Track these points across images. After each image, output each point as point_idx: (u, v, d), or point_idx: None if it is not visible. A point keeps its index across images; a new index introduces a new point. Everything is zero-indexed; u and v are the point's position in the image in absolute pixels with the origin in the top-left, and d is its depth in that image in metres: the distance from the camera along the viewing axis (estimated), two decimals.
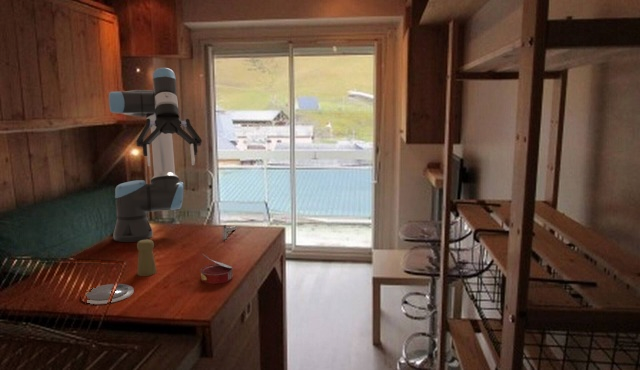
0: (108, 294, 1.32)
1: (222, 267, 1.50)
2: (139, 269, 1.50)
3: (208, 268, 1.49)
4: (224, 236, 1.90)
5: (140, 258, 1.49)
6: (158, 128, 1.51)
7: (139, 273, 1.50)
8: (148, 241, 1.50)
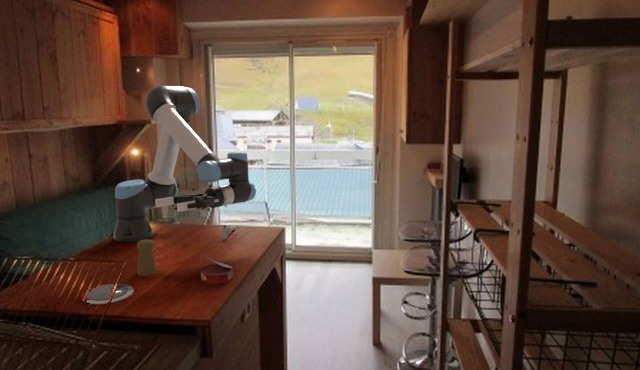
0: (108, 294, 1.32)
1: (222, 267, 1.50)
2: (139, 269, 1.50)
3: (208, 268, 1.49)
4: (224, 236, 1.90)
5: (140, 258, 1.49)
6: None
7: (139, 273, 1.50)
8: (148, 241, 1.50)
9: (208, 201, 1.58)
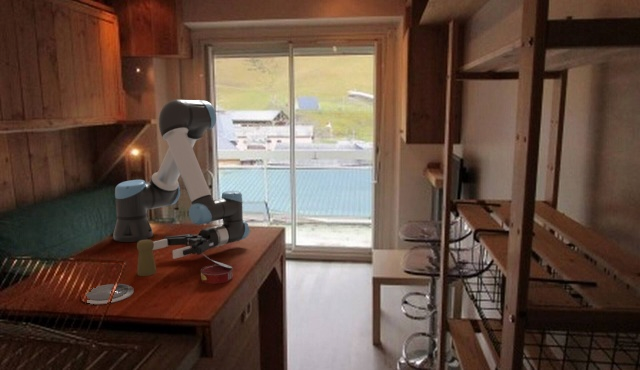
0: (108, 294, 1.32)
1: (222, 267, 1.50)
2: (139, 269, 1.50)
3: (208, 268, 1.49)
4: None
5: (140, 258, 1.49)
6: None
7: (139, 273, 1.50)
8: (148, 241, 1.50)
9: (203, 246, 1.57)
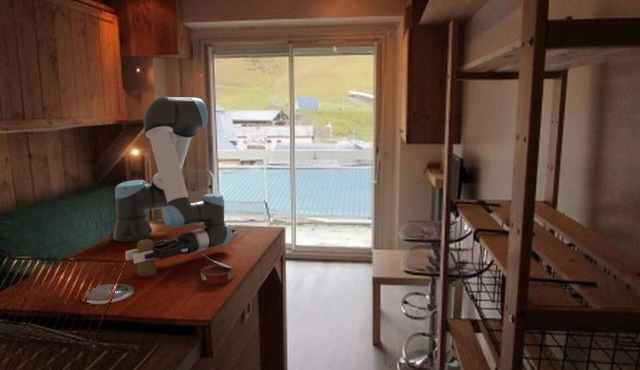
0: (108, 294, 1.32)
1: (222, 267, 1.50)
2: (139, 269, 1.50)
3: (208, 268, 1.49)
4: None
5: None
6: None
7: (139, 273, 1.50)
8: (148, 241, 1.50)
9: (169, 251, 1.51)
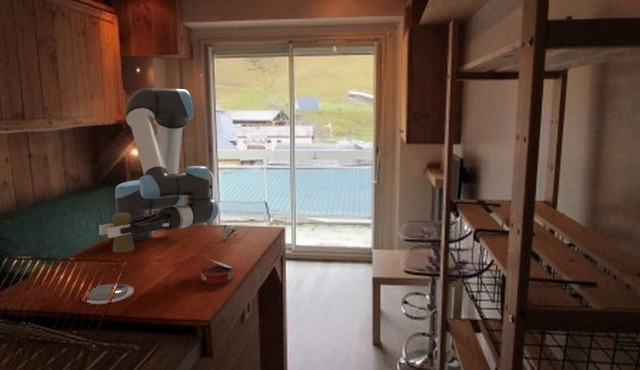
0: (108, 294, 1.32)
1: (222, 267, 1.50)
2: (115, 245, 1.35)
3: (208, 268, 1.49)
4: (224, 236, 1.90)
5: None
6: None
7: (115, 249, 1.35)
8: (125, 214, 1.35)
9: (148, 225, 1.37)
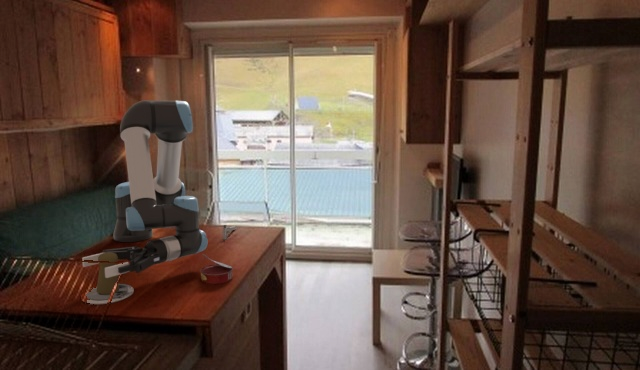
0: (108, 294, 1.32)
1: (222, 267, 1.50)
2: (99, 286, 1.32)
3: (208, 268, 1.49)
4: (224, 236, 1.90)
5: (101, 273, 1.32)
6: None
7: (98, 290, 1.32)
8: (111, 255, 1.32)
9: (145, 262, 1.33)
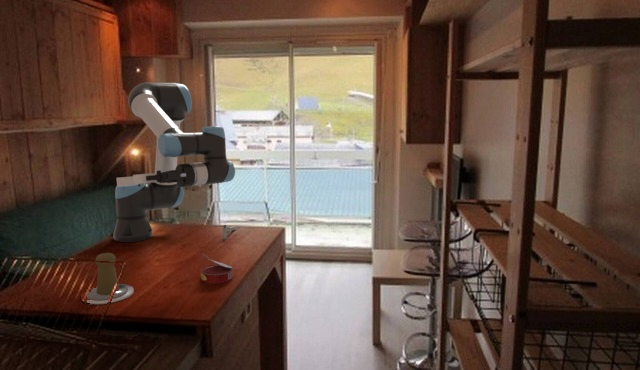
0: (108, 294, 1.32)
1: (222, 267, 1.50)
2: (98, 287, 1.32)
3: (208, 268, 1.49)
4: (224, 236, 1.90)
5: (99, 274, 1.32)
6: (169, 181, 1.45)
7: (98, 291, 1.32)
8: (108, 255, 1.32)
9: (171, 173, 1.40)
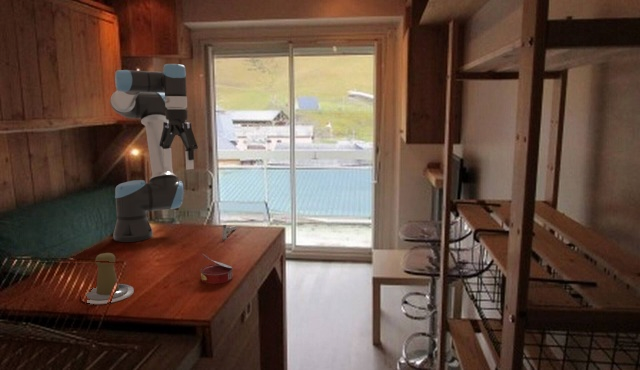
0: (108, 294, 1.32)
1: (222, 267, 1.50)
2: (98, 287, 1.32)
3: (208, 268, 1.49)
4: (224, 236, 1.90)
5: (99, 274, 1.32)
6: (168, 133, 1.69)
7: (98, 291, 1.32)
8: (108, 255, 1.32)
9: None
